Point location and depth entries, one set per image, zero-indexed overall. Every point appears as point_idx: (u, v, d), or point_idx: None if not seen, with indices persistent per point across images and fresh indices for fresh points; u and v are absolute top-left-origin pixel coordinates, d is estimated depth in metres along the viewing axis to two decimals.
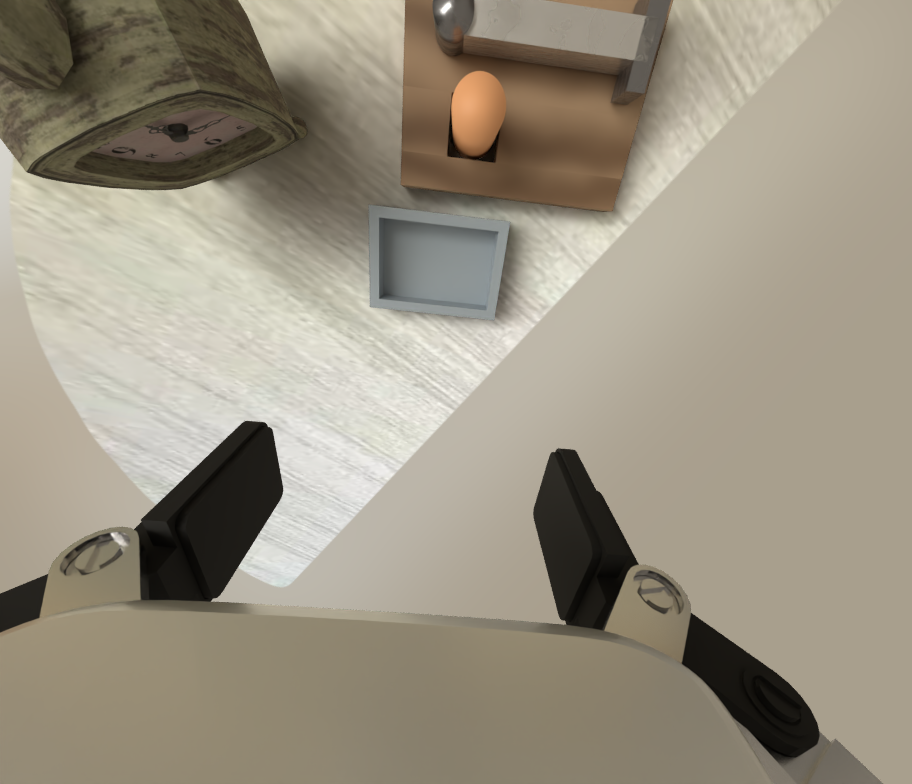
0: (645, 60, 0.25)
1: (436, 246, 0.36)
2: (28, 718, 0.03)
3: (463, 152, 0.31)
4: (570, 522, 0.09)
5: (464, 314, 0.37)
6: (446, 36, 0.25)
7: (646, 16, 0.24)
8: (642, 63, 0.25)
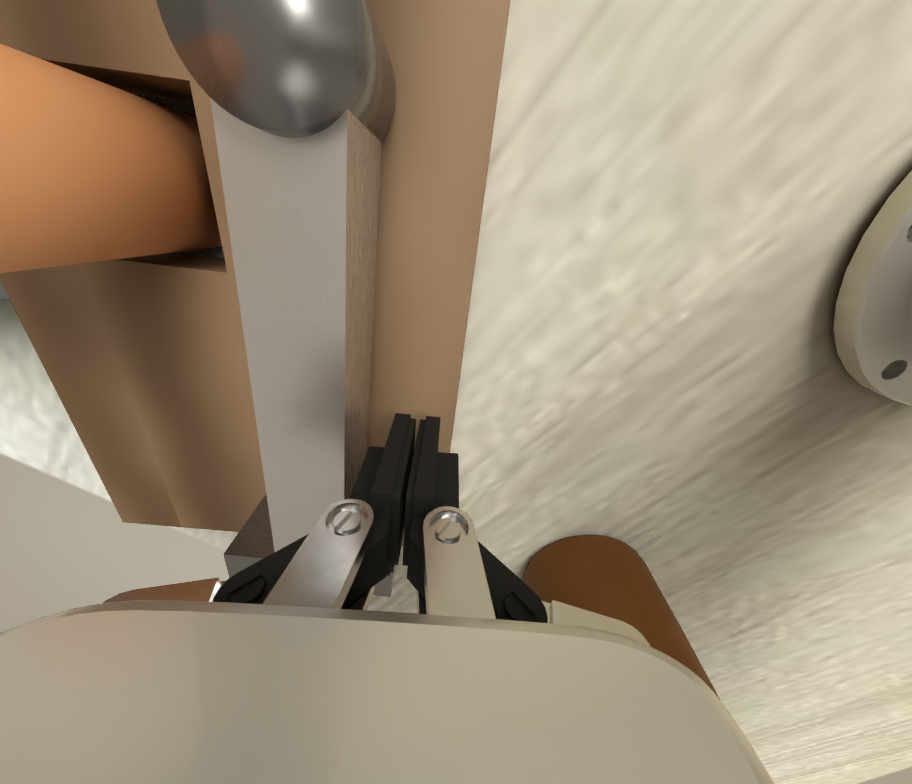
0: None
1: None
2: (28, 718, 0.03)
3: None
4: None
5: None
6: None
7: None
8: None
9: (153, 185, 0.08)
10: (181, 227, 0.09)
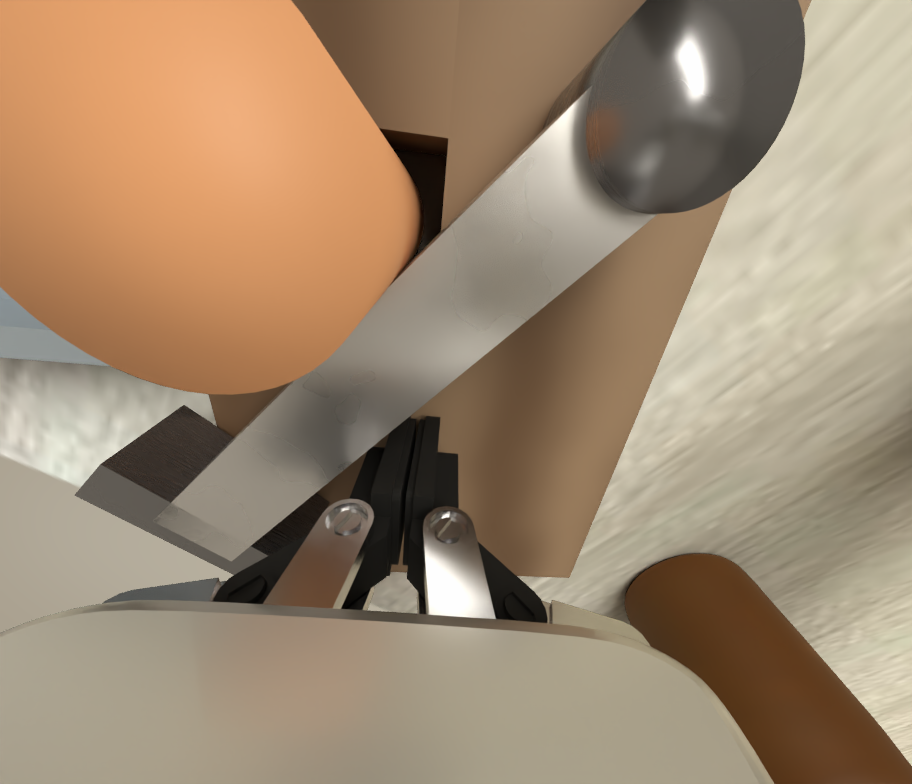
0: (157, 520, 0.09)
1: None
2: (28, 718, 0.03)
3: None
4: None
5: None
6: None
7: (249, 546, 0.10)
8: (154, 513, 0.09)
9: (414, 229, 0.08)
10: (404, 266, 0.09)
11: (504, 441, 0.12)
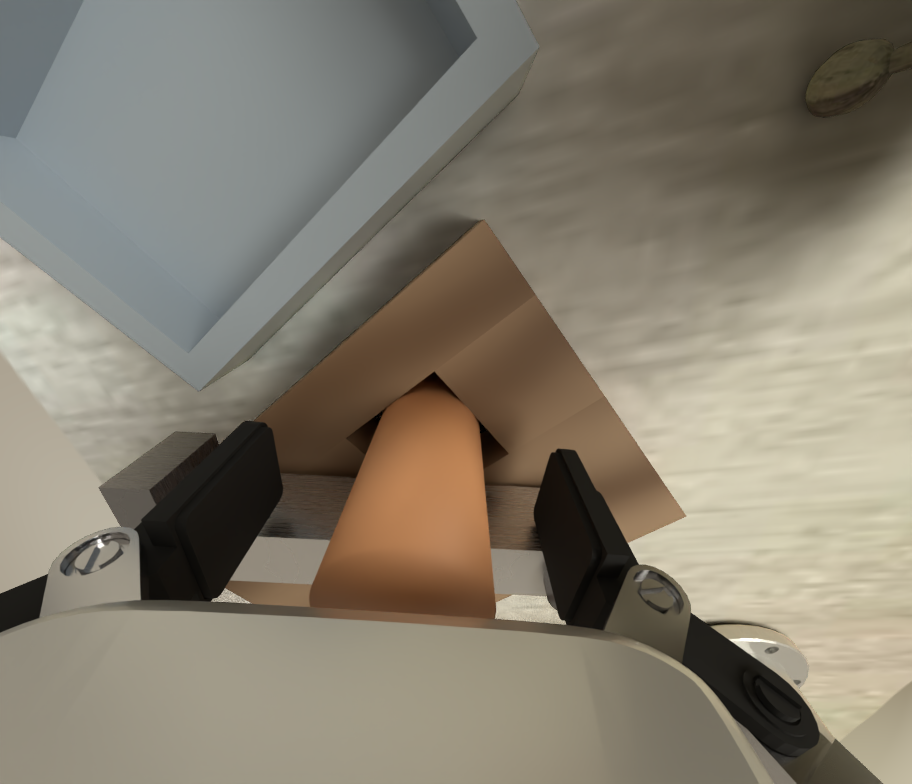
0: None
1: (287, 158, 0.11)
2: (28, 718, 0.03)
3: (412, 393, 0.12)
4: (570, 522, 0.09)
5: None
6: None
7: None
8: None
9: None
10: None
11: None
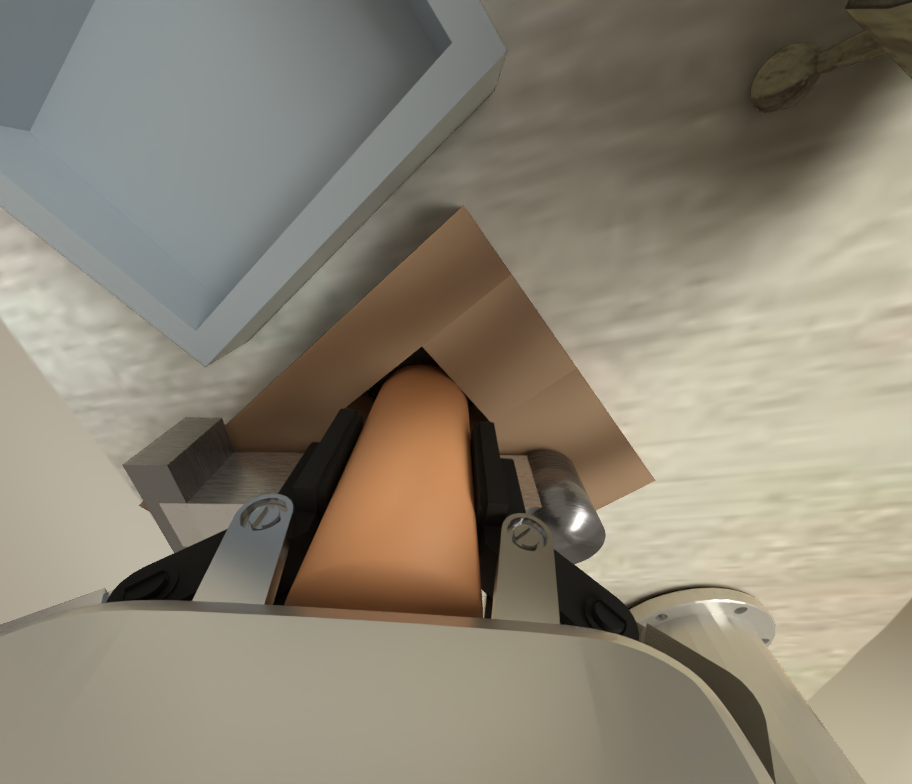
0: (163, 505, 0.12)
1: (283, 150, 0.11)
2: (28, 718, 0.03)
3: (399, 393, 0.12)
4: (474, 482, 0.10)
5: None
6: (579, 504, 0.12)
7: None
8: (165, 500, 0.12)
9: None
10: None
11: None
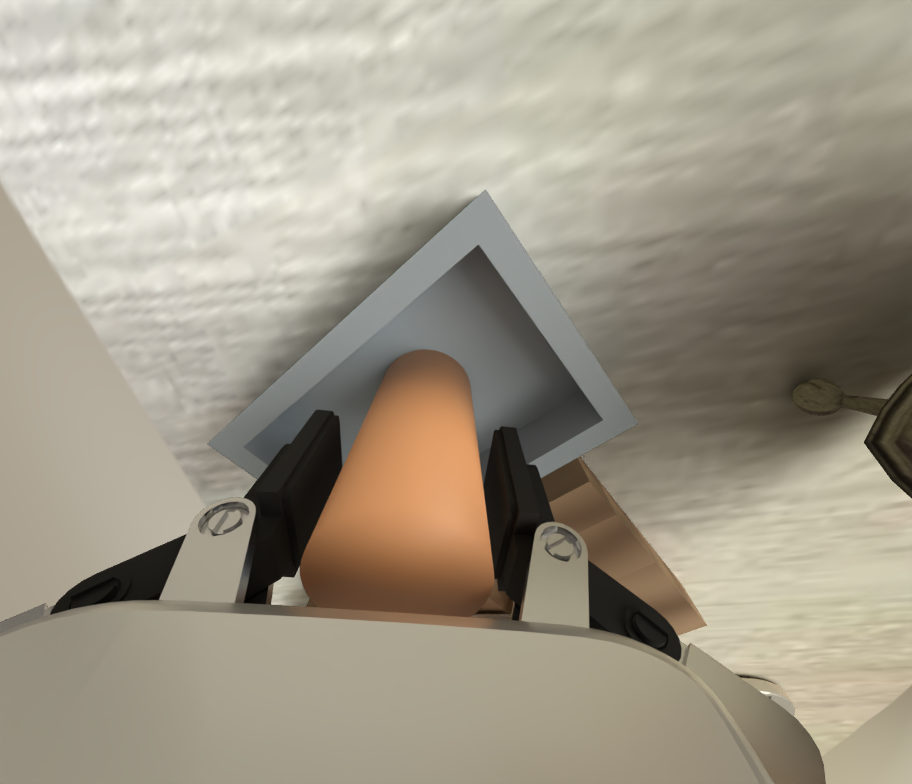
0: None
1: None
2: (28, 718, 0.03)
3: (403, 374, 0.12)
4: (500, 489, 0.10)
5: (264, 403, 0.12)
6: None
7: None
8: None
9: None
10: None
11: None
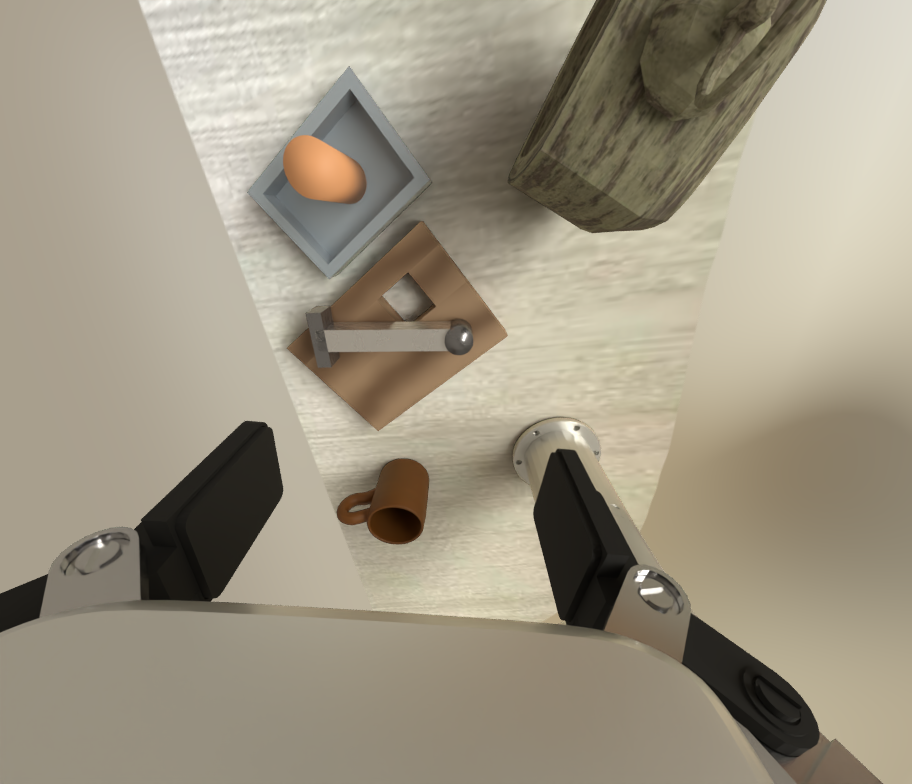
0: (315, 331, 0.34)
1: (360, 201, 0.33)
2: (28, 718, 0.03)
3: None
4: (570, 522, 0.09)
5: (272, 167, 0.30)
6: (462, 326, 0.34)
7: (327, 352, 0.35)
8: (316, 329, 0.34)
9: (348, 196, 0.30)
10: (342, 202, 0.31)
11: (396, 372, 0.40)
